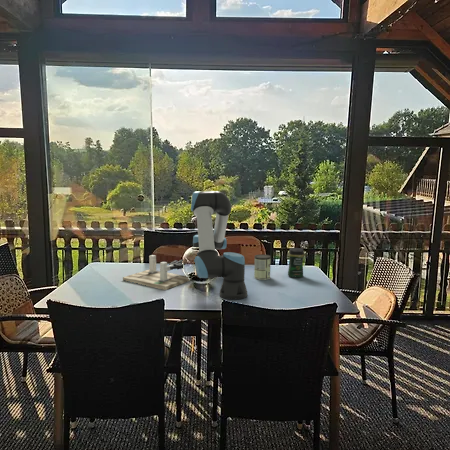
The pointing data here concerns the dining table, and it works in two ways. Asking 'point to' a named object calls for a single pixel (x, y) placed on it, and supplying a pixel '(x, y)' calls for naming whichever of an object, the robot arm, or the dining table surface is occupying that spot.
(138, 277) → the striped wooden board
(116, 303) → the dining table surface
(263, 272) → the coffee can
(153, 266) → the grey lane knob
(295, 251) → the coffee jar
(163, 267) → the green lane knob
